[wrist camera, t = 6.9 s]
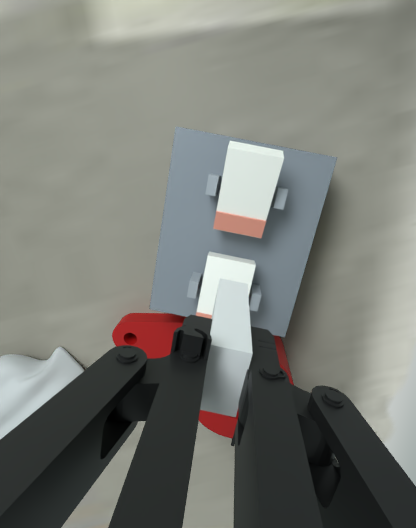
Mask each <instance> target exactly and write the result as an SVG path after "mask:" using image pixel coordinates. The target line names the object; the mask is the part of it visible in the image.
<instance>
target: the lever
mask: <svg viewBox="0 0 416 528" xmlns="http://www.w3.org/2000/svg"><path fill="white" fill-rule="evenodd" d="M185 318H186V317H185V316H181V315H176V314H159V313H131V314H128V315H126V316H124V317H123V318H122V319H121V321H120V322H119V323H118V325H117V326H116V327H115V329H114V331H113V333H112V337H113V341H114V343H115V345H116V346H122V345H131V346H135V347H138V348H140V349H142V350H143V351H144V352H145V353H146V354H147V358H162V357H165V356H167V355H169V354H170V352H171V346H172V340H173V334H174V331H175V330H176V329H177V328H179V327H181V326H182V324H183V322H184V319H185ZM134 334H135V335H134ZM273 336H274V339H275V345H276V349H277V350H276V351H277V354H278V359H279V364H280V367H281V368H282V369H283V370H284V371H285V372H286V373H287V375H288V377H289V380H290V383H291V384H292V385H294V384H293V380H292V376H291V372H290V369H289V365H288V361H287V357H286V353H285V350H284V346H283V343H282V340H281V338H280V336H276V335H273ZM237 420H238V411H237V415H236V417H231V416H227V415H222V414H217V413H213V412H208V411H204V410H200V413H199V421H200V422H201V423H202V424H203V425H204V426H205V427H207V428H208V429H210V430H211V431H213V432H215V433H217V434H219V435H222V436H225V437H229V438H233V435H234V431H235V428H236V424H237Z"/></svg>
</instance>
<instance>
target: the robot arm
mask: <svg viewBox="0 0 416 528" xmlns="http://www.w3.org/2000/svg"><path fill="white" fill-rule="evenodd" d="M276 350H277V349H276V345H275V339H274V336H273V335H272V334H271V333H270V331H269V330H267V329H262V328H257V327H252V326H251V325H250V311H249V297H248V284H246V283H241V282H236V281H231V280H226V279H221V278H220V279H219V284H218V289H217V294H216V298H215V303H214V308H213V313H212V318H211V319H210V318H205V317H201V316H196V315H189V316H188V317H186V318H185V319H184V322H183V324H182V326H181V327H179V328H177V329H176V330H175V331H174V334H173V340H172V346H171V352H170V354H169V355H167V356H165V357H162V358H147V354H146V353H145V352H144V351H143V350H142V349H140V348H138V347H135V346H131V345H122V346H117V347H114V348H113V349H111V350H109V351H108V352H107V353H106V354H104V355H103V356H102V357H101V358H100V359H98V360H97V361H96V362H95V363H93V364H92V365H91V366H90V367H89V368H87V369H86V370H85V371H84V372H82V373H81V374H80V375H79V376H77V377H76V378H75V379H74V380H73V381H71V382H70V383H69V384H68V385H66V386H65V387H64V388H63V389H62V390H60V391H59V392H58V393H57V394H55V395H54V396H53V397H52V398H51V399H49V400H48V401H47V402H46V403H44V404H43V405H42V406H41V407H40V408H38V409H37V410H36V411H35V412H33V413H32V414H31V415H30V416H29V417H27V418H26V419H25V420H24V421H22V422H21V423H20V424H19V425H18V426H16V427H15V428H14V429H13V430H11V431H10V432H9V433H8V434H7V435H5V436H4V437H3V438H2V439H0V528H61V527H62V526H63V524H64V523H65V522H66V520H67V519H68V517H69V516H70V515H71V513H72V512H73V511H74V509H75V508H76V507H77V505H78V504H79V503H80V501H81V500H82V499H83V497H84V496H85V495H86V493H87V492H88V491H89V489H90V488H91V486H92V485H93V484H94V482H95V481H96V480H97V478H98V477H99V476H100V474H101V473H102V472H103V470H104V469H105V468H106V466H107V465H108V464H109V462H110V461H111V459H112V458H113V457H114V455H115V454H116V453H117V451H118V450H119V449H120V447H121V446H122V445H123V443H124V442H125V441H126V439H127V438H128V437H129V435H130V434H131V433H132V431H133V430H134V428H135V427H136V425H137V423H138V421H146V423H145V426H144V428H143V431H142V434H141V437H140V440H139V443H138V445H137V448H136V451H135V454H134V457H133V460H132V462H131V465H130V468H129V471H128V474H127V477H126V479H125V482H124V485H123V488H122V491H121V494H120V496H119V499H118V502H117V505H116V508H115V510H114V513H113V516H112V519H111V522H110V525H109V527H108V528H182V525H183V518H184V512H185V505H186V499H187V492H188V485H189V479H190V472H191V466H192V459H193V453H194V446H195V439H196V433H197V426H198V420H199V413H200V410H204V411H208V412H213V413H217V414H222V415H227V416H231V417H236V415H237V411H238V420H237V424H236V428H235V431H234V435H233V439H232V443H231V446H234V444H235V475H234V528H416V486H415V485H414V484H413V482H412V481H411V480H410V478H409V477H408V476H407V474H406V473H405V472H404V470H403V469H402V468H401V466H400V465H399V464H398V463H397V461H396V460H395V459H394V457H393V456H392V455H391V453H390V452H389V451H388V449H387V448H386V447H385V445H384V444H383V443H382V441H381V440H380V439H379V437H378V436H377V435H376V433H375V432H374V431H373V429H372V428H371V427H370V426H369V424H368V423H367V422H366V420H365V419H364V418H363V416H362V415H361V414H360V412H359V411H358V410H357V408H356V407H355V406H354V404H353V403H352V402H351V400H350V399H349V398H348V397H347V396H346V395H344V394H343V393H341V392H340V391H338V390H337V389H334V388H332V387H328V386H316V387H315V388H313V389H312V392H311V393H309V392H306V391H304V390H302V389H300V388H298V387H296V386H294V385H292V384H291V383H290V380H289V377H288V375H287V373H286V372H285V371H284V370H283V369H282V368H281V367H280V364H279V359H278V354H277V351H276ZM335 457H336V458H335ZM336 459H337V460H336ZM337 461H338V462H337Z"/></svg>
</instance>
